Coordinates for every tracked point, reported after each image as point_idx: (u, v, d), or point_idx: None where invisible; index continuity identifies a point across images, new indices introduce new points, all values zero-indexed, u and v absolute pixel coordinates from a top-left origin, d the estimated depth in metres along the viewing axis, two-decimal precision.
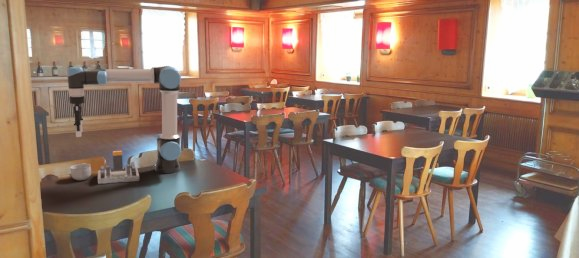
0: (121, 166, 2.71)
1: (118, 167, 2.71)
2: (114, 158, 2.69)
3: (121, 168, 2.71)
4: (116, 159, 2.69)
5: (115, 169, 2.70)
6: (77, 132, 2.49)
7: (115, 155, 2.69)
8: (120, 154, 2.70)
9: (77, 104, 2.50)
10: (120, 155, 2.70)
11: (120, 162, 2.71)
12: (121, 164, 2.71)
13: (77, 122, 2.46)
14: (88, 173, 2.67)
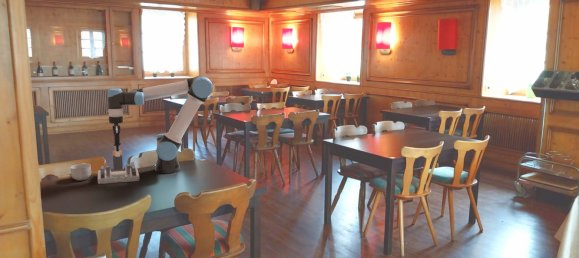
0: (121, 166, 2.71)
1: (118, 167, 2.71)
2: (114, 158, 2.69)
3: (121, 168, 2.71)
4: (116, 159, 2.69)
5: (115, 169, 2.70)
6: (116, 152, 2.68)
7: None
8: (120, 154, 2.70)
9: (116, 124, 2.62)
10: (120, 155, 2.70)
11: (120, 162, 2.71)
12: (121, 164, 2.71)
13: (117, 143, 2.64)
14: (88, 173, 2.67)
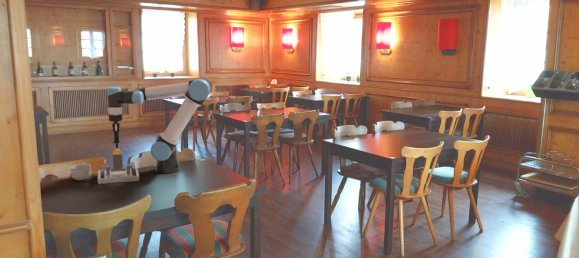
0: (121, 165, 2.72)
1: (118, 166, 2.71)
2: (114, 157, 2.71)
3: (121, 167, 2.72)
4: (116, 158, 2.71)
5: (115, 168, 2.70)
6: (116, 149, 2.73)
7: (114, 154, 2.71)
8: (120, 153, 2.72)
9: (116, 122, 2.67)
10: (120, 154, 2.72)
11: (120, 161, 2.72)
12: (121, 163, 2.72)
13: (116, 140, 2.70)
14: (88, 173, 2.67)
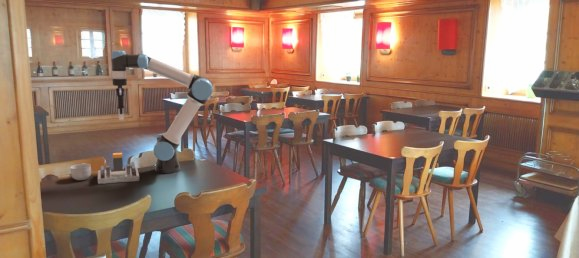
0: (121, 167, 2.71)
1: (118, 168, 2.70)
2: (114, 160, 2.67)
3: (121, 169, 2.71)
4: (116, 161, 2.68)
5: (115, 170, 2.70)
6: (120, 115, 2.67)
7: (115, 158, 2.66)
8: (121, 156, 2.67)
9: (120, 86, 2.61)
10: (120, 157, 2.67)
11: (120, 164, 2.69)
12: (121, 165, 2.70)
13: (120, 105, 2.64)
14: (88, 173, 2.67)
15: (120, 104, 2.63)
